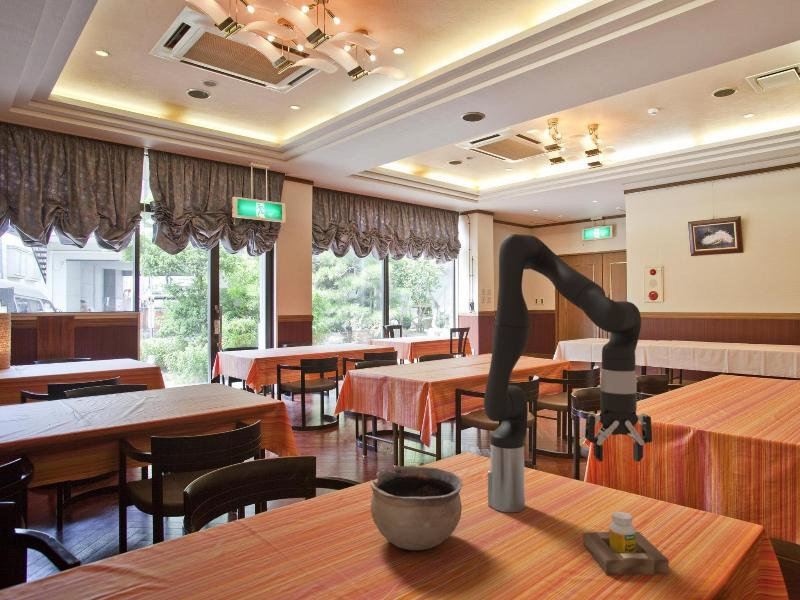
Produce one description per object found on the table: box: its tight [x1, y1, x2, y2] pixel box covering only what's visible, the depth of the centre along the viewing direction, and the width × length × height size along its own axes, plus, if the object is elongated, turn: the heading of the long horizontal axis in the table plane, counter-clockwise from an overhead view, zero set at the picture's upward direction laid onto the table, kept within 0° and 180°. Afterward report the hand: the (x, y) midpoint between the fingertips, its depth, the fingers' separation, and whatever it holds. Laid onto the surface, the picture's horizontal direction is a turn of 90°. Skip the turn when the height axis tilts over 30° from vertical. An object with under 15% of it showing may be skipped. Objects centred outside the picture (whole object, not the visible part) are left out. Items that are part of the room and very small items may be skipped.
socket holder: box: [582, 531, 670, 576], centre depth 113 cm, size 13×13×3 cm
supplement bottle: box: [608, 511, 637, 553], centre depth 113 cm, size 5×5×10 cm
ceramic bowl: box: [370, 465, 463, 551], centre depth 122 cm, size 22×22×15 cm
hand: (618, 460), depth 117 cm, fingers open, 8 cm apart
